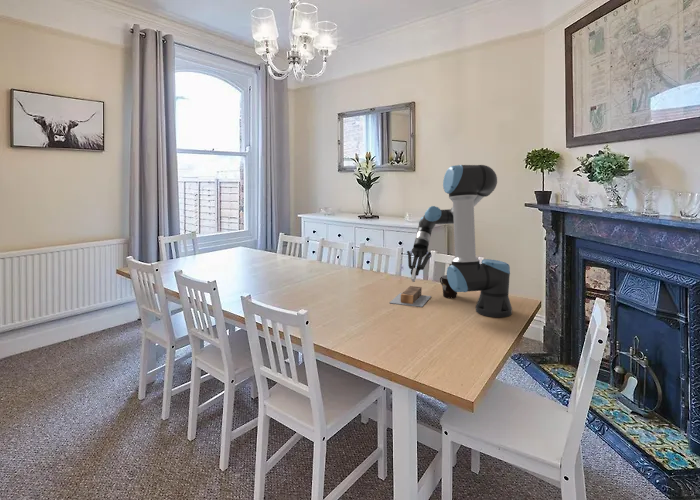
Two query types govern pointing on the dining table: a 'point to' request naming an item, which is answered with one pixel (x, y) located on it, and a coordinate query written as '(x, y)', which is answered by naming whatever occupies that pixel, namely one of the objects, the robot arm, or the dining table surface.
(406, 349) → the dining table surface
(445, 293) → the coffee mug
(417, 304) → the rubber mat
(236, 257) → the dining table surface
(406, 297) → the walnut block
